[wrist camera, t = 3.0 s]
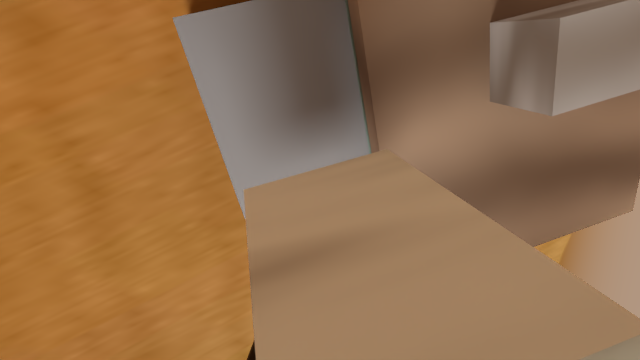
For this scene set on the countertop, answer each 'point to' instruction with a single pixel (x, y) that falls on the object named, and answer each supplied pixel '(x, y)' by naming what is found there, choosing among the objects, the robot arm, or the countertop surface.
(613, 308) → the block
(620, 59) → the lid
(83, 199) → the countertop surface
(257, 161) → the grey tray
